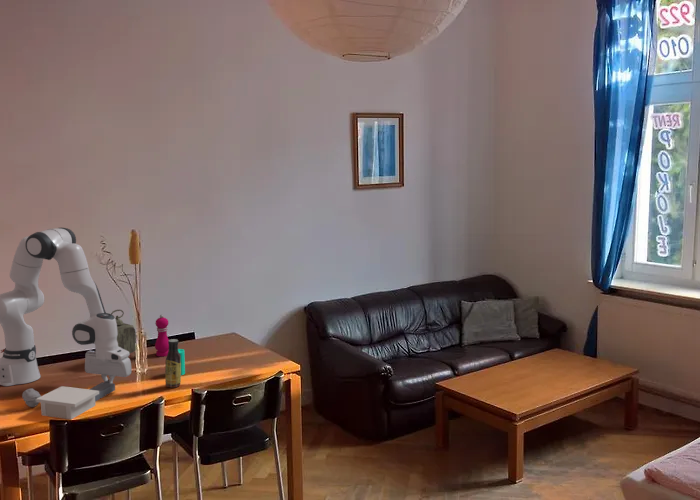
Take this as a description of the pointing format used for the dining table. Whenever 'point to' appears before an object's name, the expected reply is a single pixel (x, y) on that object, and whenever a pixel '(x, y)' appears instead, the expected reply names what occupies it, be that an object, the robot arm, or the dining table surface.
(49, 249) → the robot arm
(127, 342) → the tabletop clock
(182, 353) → the candle
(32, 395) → the frog figurine
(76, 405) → the box with flat lid
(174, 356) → the sauce bottle
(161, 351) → the pepper mill
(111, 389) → the blue-grey bar
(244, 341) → the dining table surface
